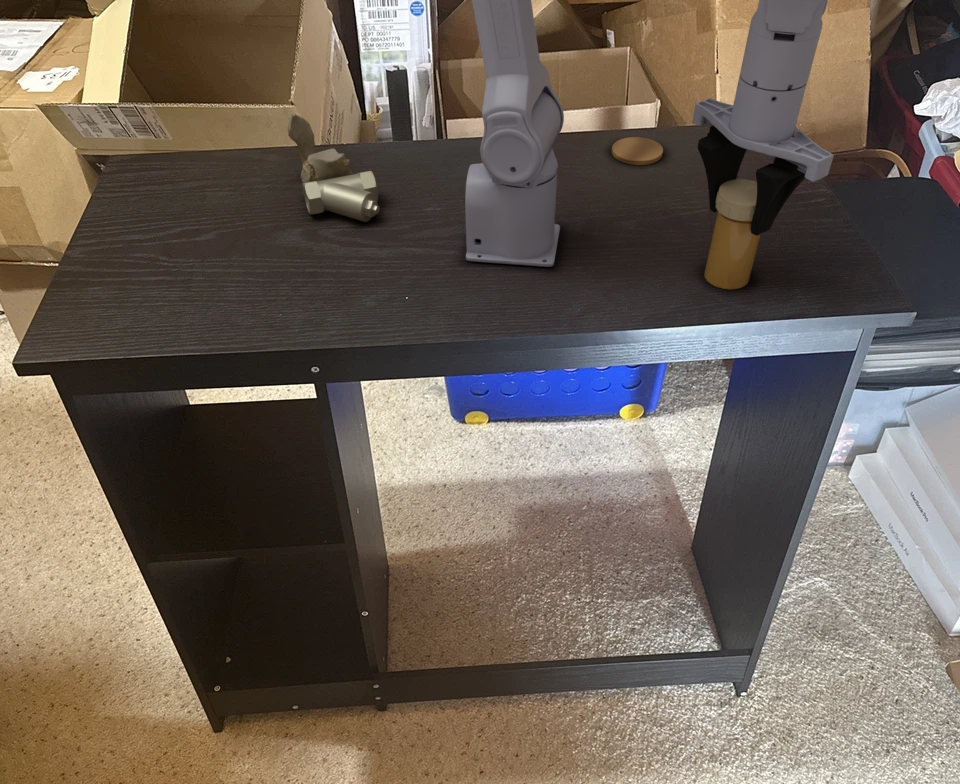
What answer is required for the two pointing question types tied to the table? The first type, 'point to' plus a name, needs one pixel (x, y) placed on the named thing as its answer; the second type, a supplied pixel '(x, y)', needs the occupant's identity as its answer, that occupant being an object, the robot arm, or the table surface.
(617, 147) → the coaster
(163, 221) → the table surface
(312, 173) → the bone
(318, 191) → the pipe fitting
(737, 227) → the jar
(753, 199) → the jar lid
